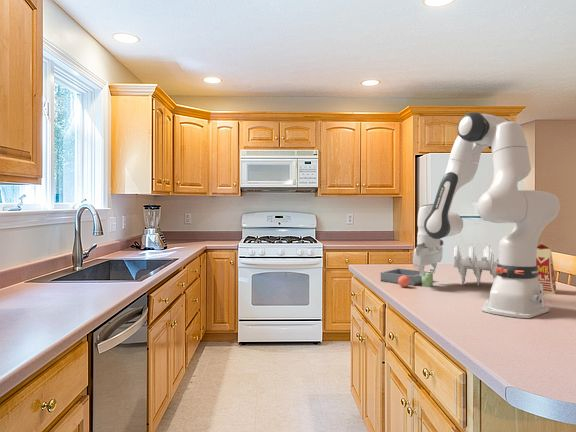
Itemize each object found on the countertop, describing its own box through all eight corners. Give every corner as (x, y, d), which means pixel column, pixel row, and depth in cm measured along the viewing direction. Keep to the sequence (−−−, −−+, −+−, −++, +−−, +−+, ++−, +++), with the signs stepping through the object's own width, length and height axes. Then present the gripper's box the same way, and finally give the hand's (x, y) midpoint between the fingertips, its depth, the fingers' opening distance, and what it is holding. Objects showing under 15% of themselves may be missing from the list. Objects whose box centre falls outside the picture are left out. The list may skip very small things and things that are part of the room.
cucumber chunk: (429, 287, 173) (430, 274, 173) (419, 285, 176) (420, 273, 176) (434, 285, 176) (434, 273, 176) (424, 284, 179) (424, 272, 179)
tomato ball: (406, 288, 170) (406, 276, 170) (395, 287, 173) (396, 275, 173) (412, 286, 174) (412, 275, 173) (401, 285, 177) (401, 274, 177)
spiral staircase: (518, 299, 168) (452, 292, 177) (512, 274, 183) (452, 268, 191) (525, 261, 160) (455, 255, 168) (519, 238, 175) (455, 234, 183)
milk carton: (554, 294, 159) (555, 242, 158) (526, 291, 165) (527, 240, 164) (556, 290, 166) (557, 240, 166) (530, 287, 172) (530, 239, 171)
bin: (414, 285, 176) (414, 276, 176) (380, 281, 187) (380, 272, 187) (430, 280, 187) (430, 271, 187) (398, 276, 198) (398, 268, 198)
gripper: (423, 245, 166) (423, 279, 167) (445, 241, 181) (444, 272, 182) (409, 243, 171) (408, 277, 171) (431, 240, 185) (431, 270, 186)
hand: (427, 274), depth 177 cm, fingers open, 8 cm apart
